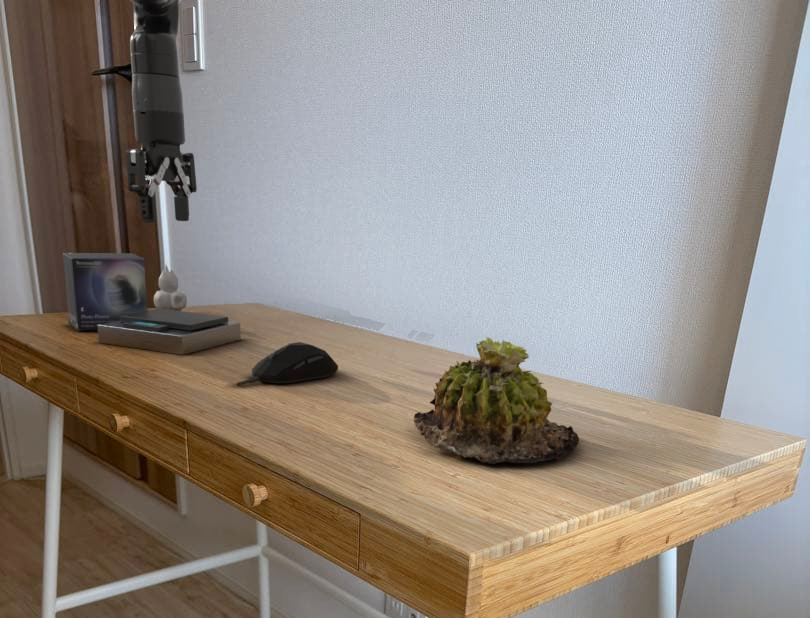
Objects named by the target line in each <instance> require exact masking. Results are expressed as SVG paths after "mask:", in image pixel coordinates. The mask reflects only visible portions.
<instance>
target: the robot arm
mask: <svg viewBox="0 0 810 618" xmlns="http://www.w3.org/2000/svg"><path fill="white" fill-rule="evenodd" d="M129 1H130V2H131V3H132V5H133V23H134V24H133V25H134V27H133V28H134V31H133V33H132V34H131V35H130V40H129V50H130V51H129V52H130V65H131V74H132V75H131V77H132V78H131V99H132V112H133V124H134V135H135V140H136V142H138V143H140V144H141V145H140V147H141V148H128V149H126V167H127V169H126V171H127V173H126V174H127V189H128V191H129V192H131V193H132V192H133V193H135V194H136V195H137V196H138V198H139V207H140V208H139V209H140V216H141V221H142V222H143V223H147V224H148V223H150V224H154V223H156V222H157V212H156V198H155V196H154V195H155V193H156V190H157V187H158V186H160V185H161V183H162V182H165V183H166V185H168V186H170V188H171V191H172V192H173V194H174V196H173V198H174V199H173V202H174V217H175V220H176V221H177V222H188V221H189V220H190V208H189V207H190V205H189V198H190V196H191V194H193V193H196V192H197V190H198V189H197V179H196V177H197V176H196V165H195V155H194V153H192V152H181V147H180V146H182V145H184V144H185V143H186V135H185V134H186V132H185V131H186V130H185V114H184V97H183V90H182V85H181V75H180V58H179V48H178V35H179V23H180V22H179V21H180V20H179V19H180V0H129ZM136 176H137V182H136ZM187 177H188V178H187ZM187 180H189V181H188V182H189V183H187Z"/></svg>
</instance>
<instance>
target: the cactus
mask: <svg viewBox="0 0 810 618" xmlns="http://www.w3.org/2000/svg"><path fill="white" fill-rule="evenodd" d="M475 348H476V350H477V352H478V355H479V358H480V359H475V360H474V361H471V359H469V360H467V361H462V362H461V363H459V361H456V364H454V365H449V369H448V370H444V373H443V374H442V375H441V374H440V378H439V380H438V382H435V383H434V384H435V387H436V388H433V392H434V395H433V399H431V400H430V402H429V404H431V405H433V406H434V408H433V409H431V410H430V411H427V412H420V411H418V412H416V413H414V416H413V423H414V426H415V428H416V429H417V430H418V431H419V433H420V436H424V440H425V441H426V442H427V444H428V445H430V446H431V447H432V448H439V449H440V450H441V451H444V452H447V453H449V454H456V455H458V456H461V457H463V458H464V459H466V458H469V459H471V460H474V459H476V460H478V461H479V462H480V463H487V464H492V465H496V464H498V463H510V464H527V465H528V464H533V463H539V462H544V461H550V460H561V459H562V458H563V457H565V456H567V455H568V454H571V453H572V452H573V451H574V450H576V449H577V446H578V445H579V443H580V437H579V435H578V434H577V432H576V431H574V429H573V427H572V425H570V426H568V427H567V426H565V425H561V424H560V425H558V424H557V422H552V421H550V420H549V419H548V416H549V415H550V413H551V412H552V407H551V406H552V405H553V403H552V402H551V401H549V400H548V397H547V396H548V392H547V389H545V388H544V387H542V385H543V384H545V383H544V382H542V381H540V379H539V378H538V376H535V375H534V374H533V373H531V370H524V371H523V370H522V368H521V367H520V364H521V363H526V360H527V359H529V358H530V356H529V353H527V349H526V348H524V346H521V345H515V344H514V343H512V341H505V340H504V339H502V341H501V342H500V341H499V340H494V341H493V339H492V338H490V337H488V336H487V337H486V339H485V340H480V341H478V342H475Z"/></svg>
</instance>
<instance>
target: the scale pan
mask: <svg viewBox="0 0 810 618" xmlns="http://www.w3.org/2000/svg"><path fill="white" fill-rule="evenodd" d="M120 321H122V322H130V321H136V322H144V323H151V324H159V325H167V326H168V328H175V329H183V330H191V331H192V330H196V329H201V328H205V327H210V326H214V325H218V324H223V323H227V322H228V321H229V316H225V315H217V314H208V313H199V312H193V311H185V310H184V311H183V310H181V311H176V310H168V309H157V308H155V309H150V310H147V311H143V312H138V313H132V314H127V315H121V316H120Z"/></svg>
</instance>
